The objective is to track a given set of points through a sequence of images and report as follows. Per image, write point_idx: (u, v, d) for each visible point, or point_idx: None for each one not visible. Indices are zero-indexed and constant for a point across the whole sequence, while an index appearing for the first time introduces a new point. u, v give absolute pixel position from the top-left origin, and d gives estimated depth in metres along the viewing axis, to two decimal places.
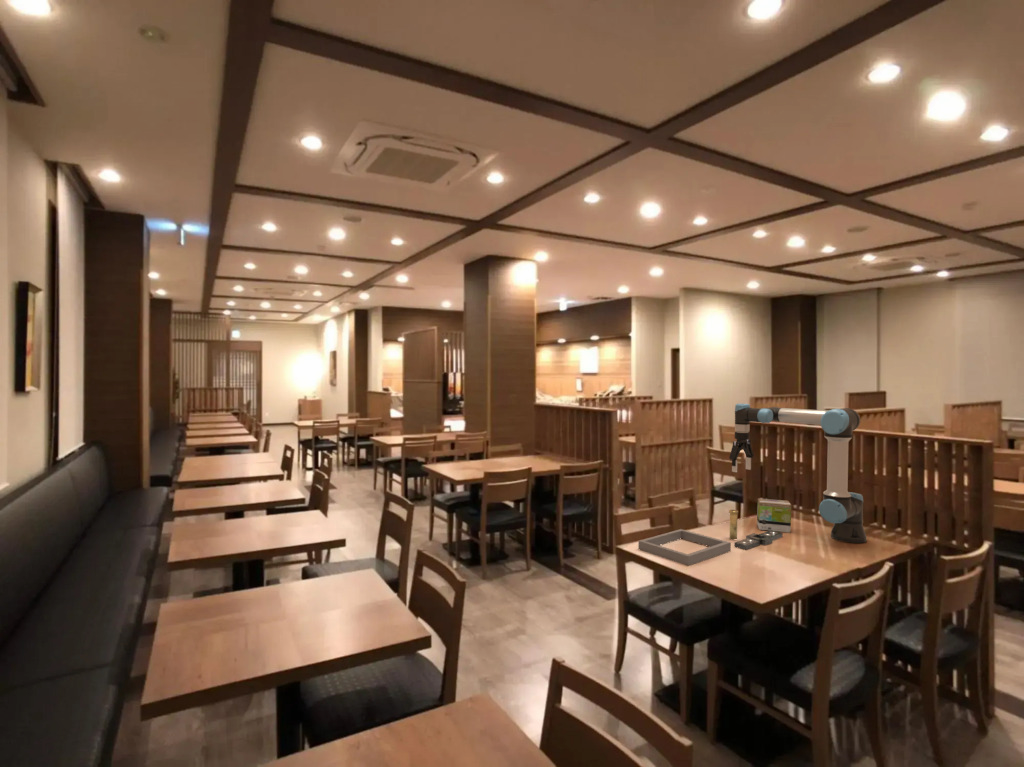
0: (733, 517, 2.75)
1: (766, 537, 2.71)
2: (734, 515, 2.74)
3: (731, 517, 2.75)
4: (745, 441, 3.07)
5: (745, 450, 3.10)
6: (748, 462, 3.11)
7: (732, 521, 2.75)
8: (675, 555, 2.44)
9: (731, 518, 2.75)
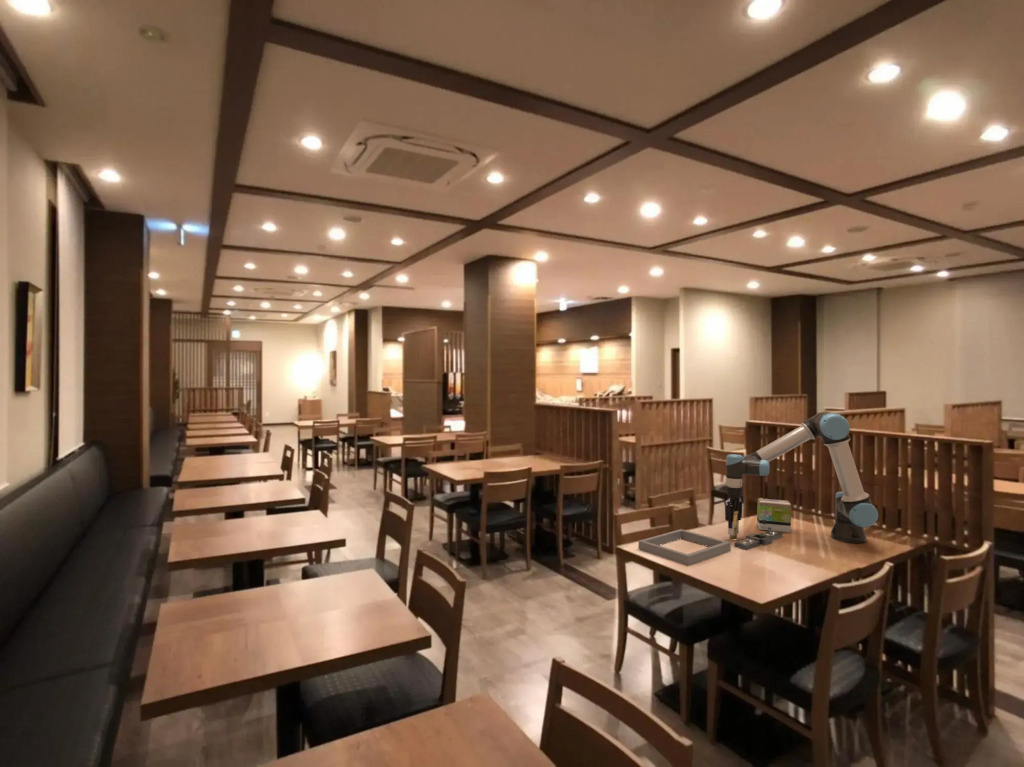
0: None
1: (766, 537, 2.71)
2: (734, 515, 2.74)
3: None
4: (738, 495, 2.76)
5: (735, 508, 2.77)
6: None
7: None
8: (675, 555, 2.44)
9: None
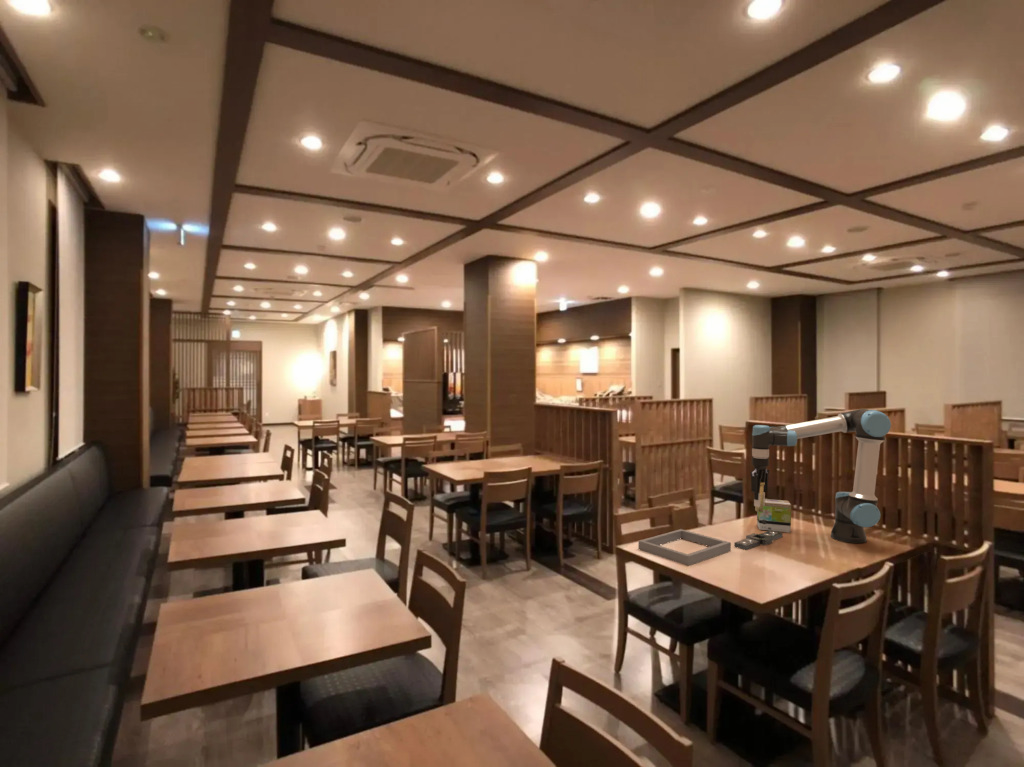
0: None
1: (766, 537, 2.71)
2: (760, 486, 2.70)
3: None
4: (764, 466, 2.72)
5: (761, 480, 2.72)
6: None
7: None
8: (675, 555, 2.44)
9: None
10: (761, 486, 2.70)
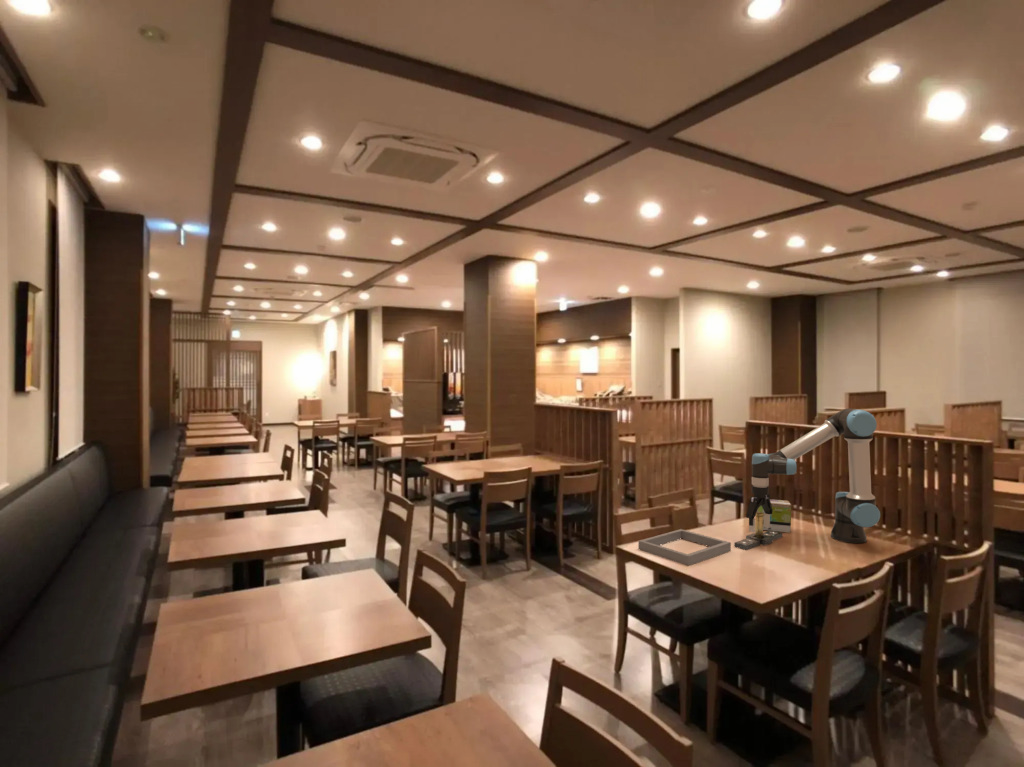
0: (759, 519, 2.70)
1: (766, 537, 2.71)
2: (760, 517, 2.70)
3: (757, 519, 2.71)
4: (763, 496, 2.72)
5: (763, 506, 2.74)
6: (767, 519, 2.76)
7: (758, 523, 2.71)
8: (675, 555, 2.44)
9: (757, 520, 2.71)
10: (761, 517, 2.70)
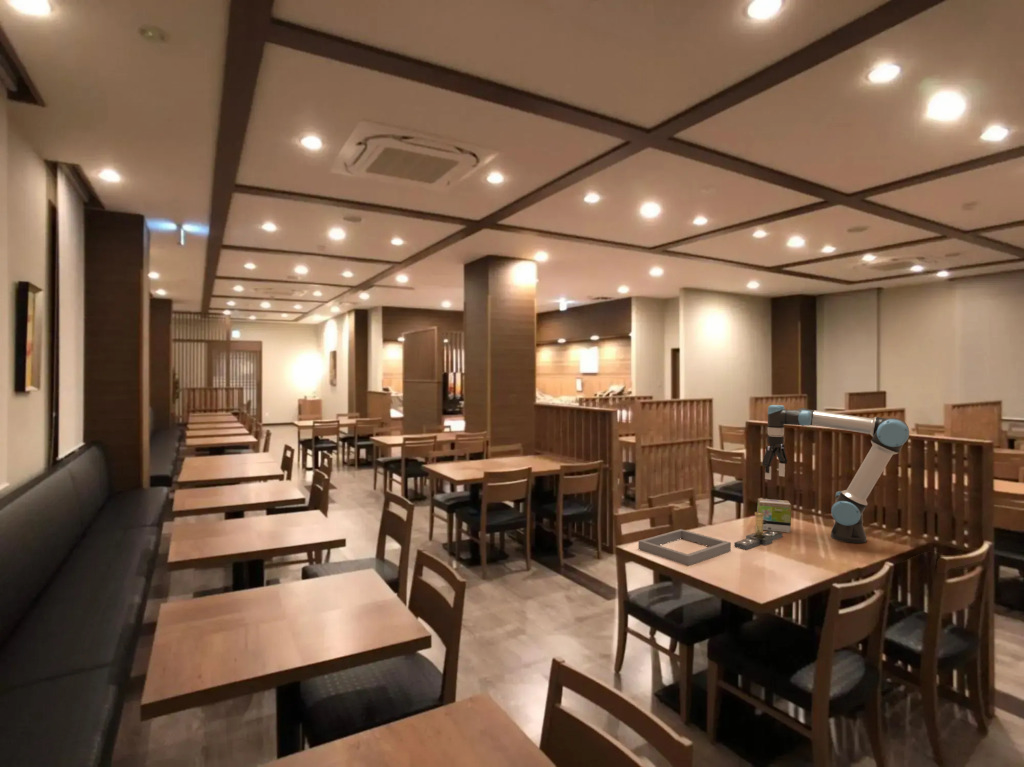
0: (759, 519, 2.70)
1: (766, 537, 2.71)
2: (760, 517, 2.70)
3: (757, 519, 2.71)
4: (779, 446, 2.84)
5: (779, 455, 2.86)
6: (782, 468, 2.87)
7: (758, 523, 2.71)
8: (675, 555, 2.44)
9: (757, 520, 2.71)
10: (761, 517, 2.70)
